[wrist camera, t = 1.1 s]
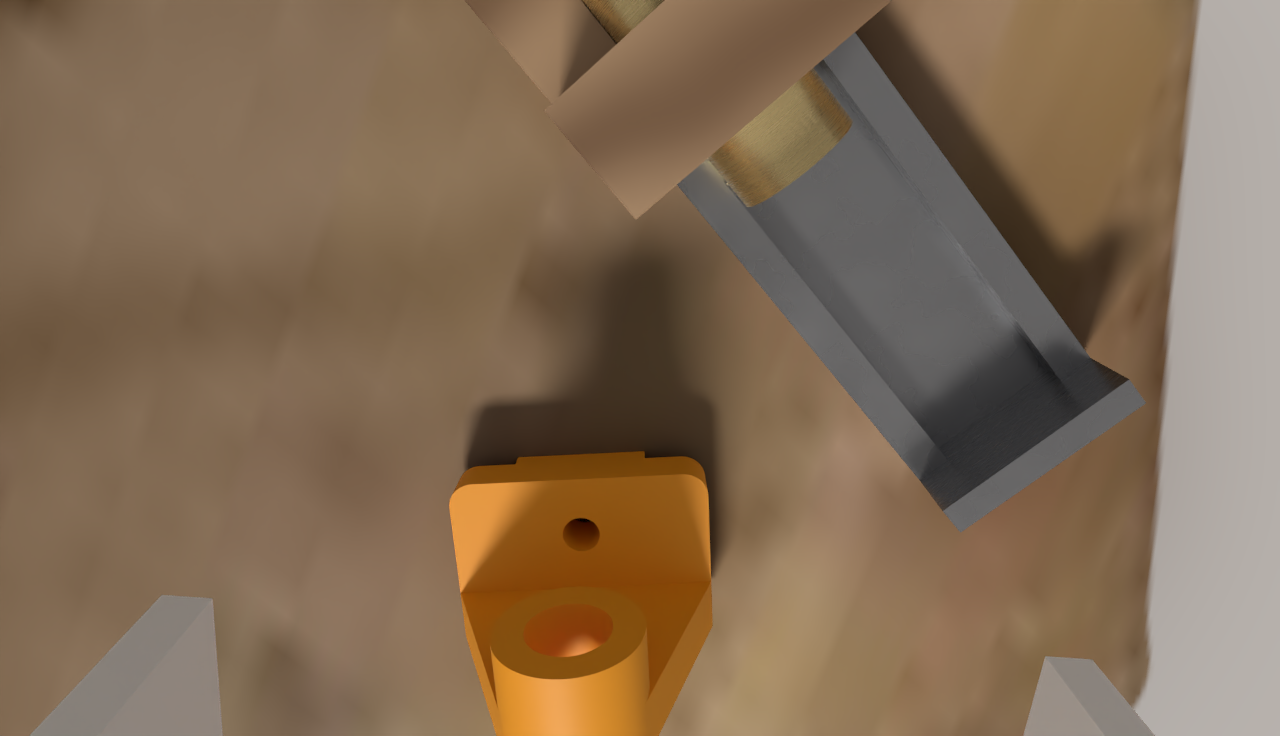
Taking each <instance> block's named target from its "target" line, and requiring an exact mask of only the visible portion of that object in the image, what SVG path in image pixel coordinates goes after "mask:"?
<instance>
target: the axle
mask: <svg viewBox="0 0 1280 736" xmlns="http://www.w3.org/2000/svg"><path fill="white" fill-rule="evenodd" d="M581 1H582V2H583V3H584V5H585V6H586V7H587V8H588V10H589V11H590V12H591V13H592V15H593V16H594V17H595V18H596V20H597V21H598V22H599V23H600V25H601V26H602V27H603V28H604V30H605V31H606V32H607V33H608V35H609V36H610V37H611V38H612V40H613V41H614V42H615V43H616V44H617V43H619V42H620V41H621V40H622V39H623V38H624V37H625V36H626V35H627V34H628V33H629V32H631V31H632V30H633V29H634V28H635V27H636V26H637V25H638V24H639V23H640V22H642V21H643V20H644V19H645V18H646V17H647V16H648V15H649V14H650V13H651V12H652V11H654V10H655V9H656V8H657V7H658V6H659V5H660V4H661V3H662V2H663V1H664V0H581ZM852 124H853V120H852V119H851V118H850V116H849V115H848V114H847V112H846V111H845V110H844V108H843V107H842V106H841V104H840V103H839V102H838V100H837V99H836V98H835V96H834V95H833V93H832V92H831V91H830V89H829V88H828V87H827V85H826V84H825V83H824V81H823V80H822V79H821V77H820V76H819V75H818V73H817V72H816V71H815V69H814V68H812V69H811V70H810V71H809V72H808V73H807V74H805V75H804V76H803V77H802V78H801V79H800V80H798V81H797V82H796V83H795V84H794V85H793V86H791V87H790V88H789V89H788V90H787V91H786V92H784V93H783V94H782V95H781V96H780V97H779V98H777V99H776V100H775V101H774V102H773V103H772V104H770V105H769V106H768V107H767V108H766V109H765V110H763V111H762V112H761V113H760V114H759V115H758V116H756V117H755V118H754V119H753V120H752V121H751V122H749V123H748V124H747V125H746V126H745V127H744V128H742V129H741V130H740V131H739V132H738V133H737V134H735V135H734V136H733V137H732V138H731V139H730V140H728V141H727V142H726V143H725V144H724V145H723V146H721V147H720V148H719V149H718V150H717V151H716V152H714V153H713V154H712V155H711V156H710V157H709V158H708V159H709V160H710V162H711V163H712V164H713V165H714V167H715V168H716V169H717V170H718V172H719V173H720V174H721V175H722V177H723V178H724V179H725V180H726V182H727V183H728V184H729V185H730V187H731V188H732V189H733V190H734V192H735V193H736V194H737V195H738V197H739V198H740V199H741V200H742V202H743V203H744V204H745V205H746V207H752V206H755V205H757V204H759V203H761V202H763V201H765V200H767V199H769V198H770V197H772V196H773V195H775V194H776V193H778V192H779V191H781V190H782V189H784V188H785V187H787V186H788V185H789V184H791V183H792V182H793V181H795V180H796V179H797V178H799V177H800V176H801V175H803V174H804V173H805V172H806V171H808V170H809V169H810V168H811V167H812V166H814V165H815V164H816V163H817V162H818V161H819V160H821V159H822V158H823V157H824V156H825V155H826V154H827V153H828V152H829V151H830V150H831V149H832V148H833V147H834V146H835V145H836V144H837V143H838V142H839V141H840V140H841V139H842V138H843V137H844V136H845V135H846V133H847V132H848V131H849V129H850V128H851V126H852Z"/></svg>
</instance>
